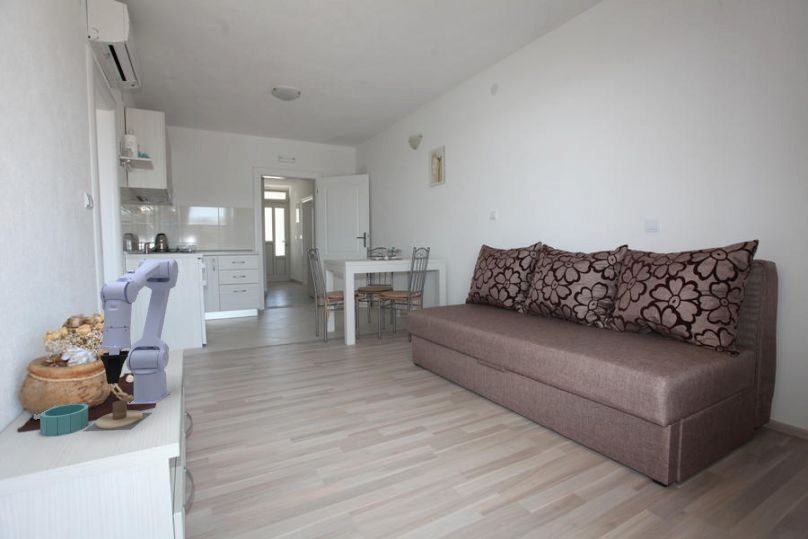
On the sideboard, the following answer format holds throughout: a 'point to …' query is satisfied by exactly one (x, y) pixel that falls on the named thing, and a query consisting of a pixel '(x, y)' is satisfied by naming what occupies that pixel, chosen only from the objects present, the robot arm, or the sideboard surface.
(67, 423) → the bowl
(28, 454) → the sideboard surface
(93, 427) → the mat
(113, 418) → the lid
